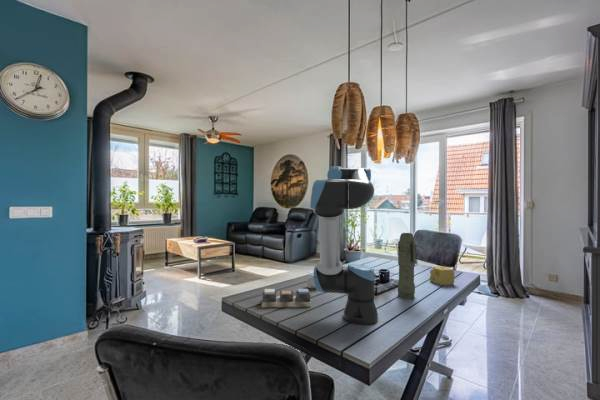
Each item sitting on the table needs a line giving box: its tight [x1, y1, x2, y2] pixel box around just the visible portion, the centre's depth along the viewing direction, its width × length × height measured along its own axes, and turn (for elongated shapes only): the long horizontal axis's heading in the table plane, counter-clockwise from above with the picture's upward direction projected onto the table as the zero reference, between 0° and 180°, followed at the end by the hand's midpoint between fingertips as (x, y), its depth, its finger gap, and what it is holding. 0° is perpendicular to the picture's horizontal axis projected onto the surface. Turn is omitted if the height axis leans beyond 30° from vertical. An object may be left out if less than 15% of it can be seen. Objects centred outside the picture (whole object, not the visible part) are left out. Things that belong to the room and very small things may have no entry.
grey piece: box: [261, 289, 312, 308], centre depth 145 cm, size 24×10×6 cm, turn 94°
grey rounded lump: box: [305, 273, 316, 289], centre depth 172 cm, size 8×9×10 cm
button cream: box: [263, 288, 276, 294], centre depth 145 cm, size 5×5×3 cm
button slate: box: [297, 288, 310, 294], centre depth 146 cm, size 5×5×3 cm
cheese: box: [429, 265, 455, 286], centre depth 186 cm, size 10×11×10 cm
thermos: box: [397, 232, 417, 300], centre depth 158 cm, size 9×12×35 cm
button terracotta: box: [281, 290, 292, 294], centre depth 145 cm, size 5×5×3 cm
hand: (334, 236), depth 160 cm, fingers closed
